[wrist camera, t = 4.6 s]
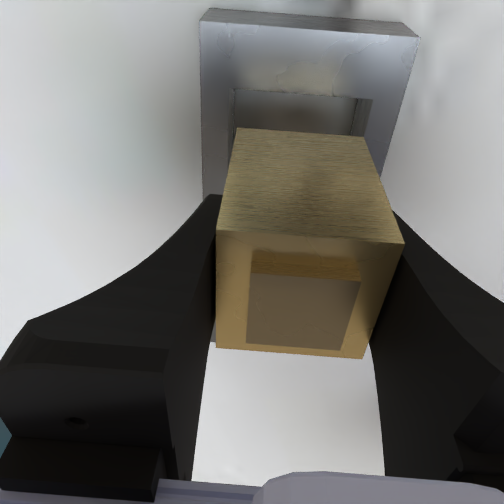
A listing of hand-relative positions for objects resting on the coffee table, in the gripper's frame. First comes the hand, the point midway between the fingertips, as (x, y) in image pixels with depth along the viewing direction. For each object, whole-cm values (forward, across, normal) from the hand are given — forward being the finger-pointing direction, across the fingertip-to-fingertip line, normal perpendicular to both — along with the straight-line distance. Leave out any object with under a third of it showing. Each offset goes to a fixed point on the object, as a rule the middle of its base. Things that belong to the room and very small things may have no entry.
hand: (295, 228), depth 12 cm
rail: (+7, 0, +4) cm, 8 cm away
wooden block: (+2, 0, 0) cm, 2 cm away
